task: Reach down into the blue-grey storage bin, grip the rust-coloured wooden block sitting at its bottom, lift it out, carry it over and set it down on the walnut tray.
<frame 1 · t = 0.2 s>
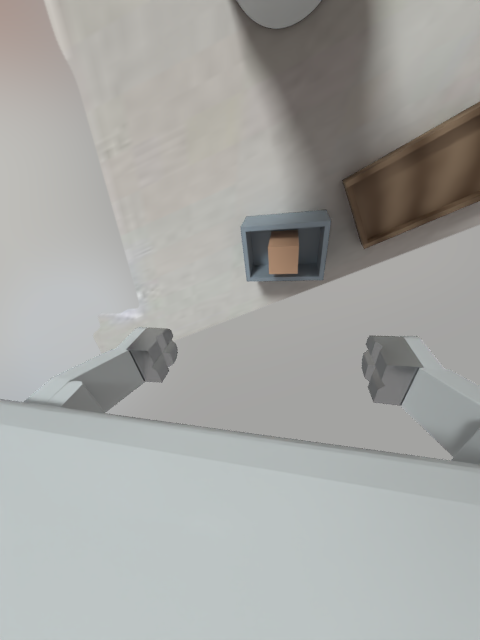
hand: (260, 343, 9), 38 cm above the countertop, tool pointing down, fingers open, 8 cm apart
block: (284, 243, 43), point 1 cm above the countertop, touching blue-grey storage bin
blue-grey storage bin: (284, 241, 44), on the countertop
tray: (412, 184, 35), on the countertop
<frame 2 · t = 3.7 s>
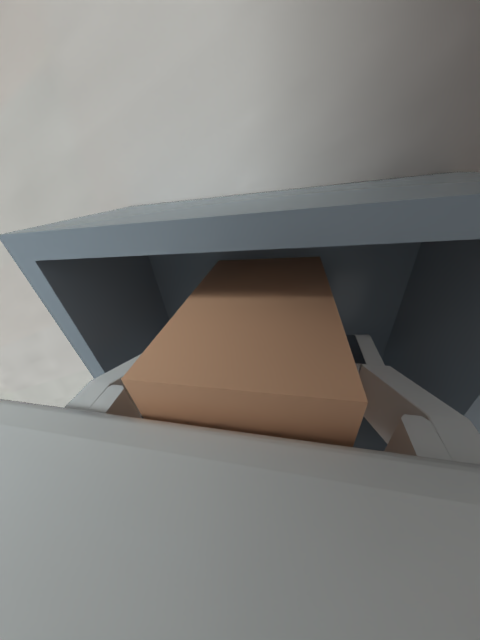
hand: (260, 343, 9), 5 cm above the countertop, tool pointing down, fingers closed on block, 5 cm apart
block: (268, 302, 12), point 1 cm above the countertop, touching blue-grey storage bin, gripper
blue-grey storage bin: (269, 294, 13), on the countertop
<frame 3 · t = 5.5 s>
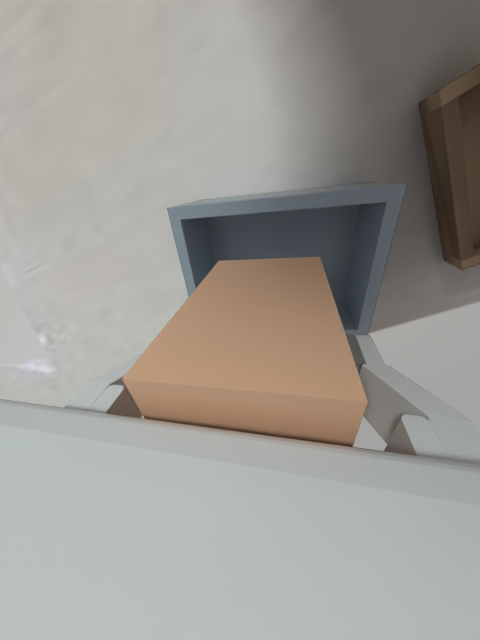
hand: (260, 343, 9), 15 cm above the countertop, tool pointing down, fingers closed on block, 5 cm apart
block: (268, 302, 12), point 11 cm above the countertop, touching gripper
blue-grey storage bin: (278, 253, 22), on the countertop
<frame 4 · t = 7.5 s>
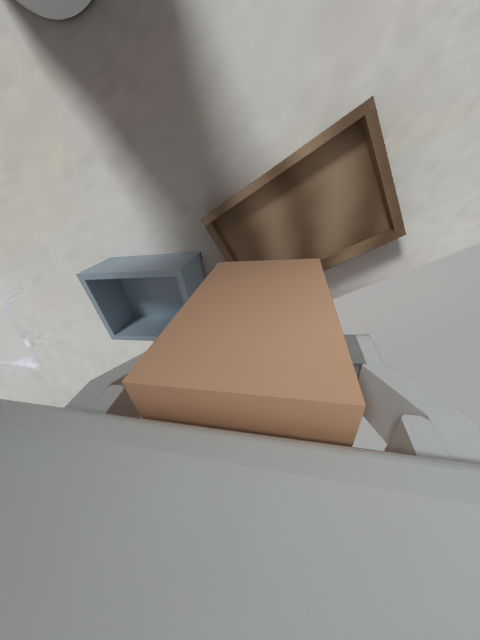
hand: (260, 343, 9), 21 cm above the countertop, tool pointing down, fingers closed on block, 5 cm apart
block: (268, 304, 12), point 18 cm above the countertop, touching gripper
blue-grey storage bin: (164, 288, 34), on the countertop
tray: (296, 222, 26), on the countertop
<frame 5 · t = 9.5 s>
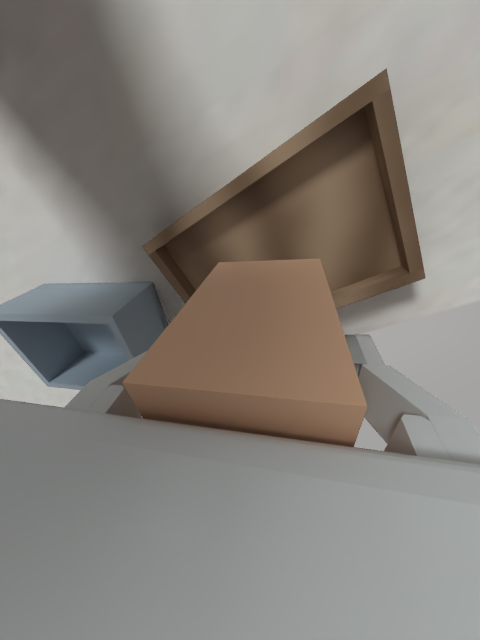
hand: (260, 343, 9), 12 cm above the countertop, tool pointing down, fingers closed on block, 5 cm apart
block: (268, 304, 12), point 8 cm above the countertop, touching gripper
blue-grey storage bin: (114, 321, 27), on the countertop
tray: (274, 250, 19), on the countertop
when the fingers open (7 cm above the countertop, at t = 11.4 s): block drops 2 cm, resting on tray.
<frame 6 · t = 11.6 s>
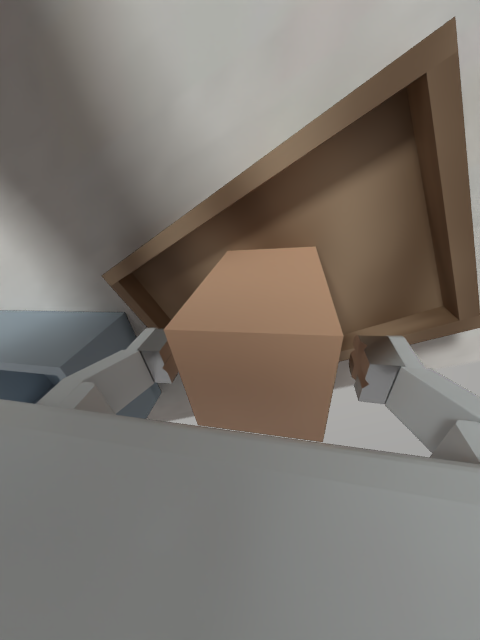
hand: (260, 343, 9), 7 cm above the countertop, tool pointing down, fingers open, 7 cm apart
block: (270, 288, 14), point 1 cm above the countertop, touching tray
blue-grey storage bin: (85, 353, 23), on the countertop
tray: (272, 281, 15), on the countertop
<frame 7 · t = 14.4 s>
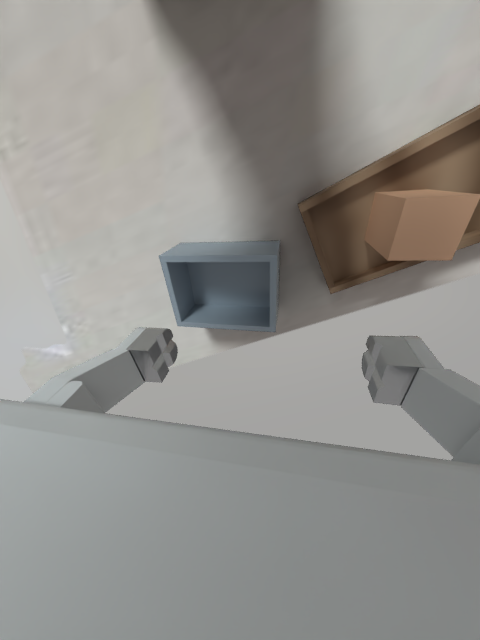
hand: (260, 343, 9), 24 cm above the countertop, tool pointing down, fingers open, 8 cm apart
block: (393, 216, 25), point 1 cm above the countertop, touching tray
blue-grey storage bin: (231, 277, 34), on the countertop
tray: (391, 214, 26), on the countertop
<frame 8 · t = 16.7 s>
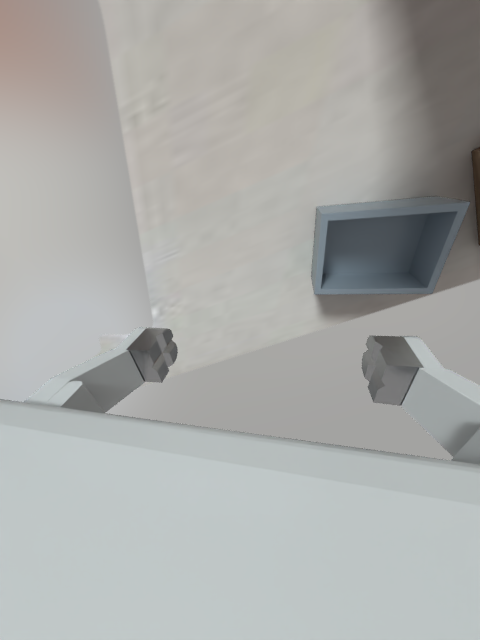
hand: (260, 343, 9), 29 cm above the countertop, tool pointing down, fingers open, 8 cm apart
blue-grey storage bin: (365, 241, 32), on the countertop
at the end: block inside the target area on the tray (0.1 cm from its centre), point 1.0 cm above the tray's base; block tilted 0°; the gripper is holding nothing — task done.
